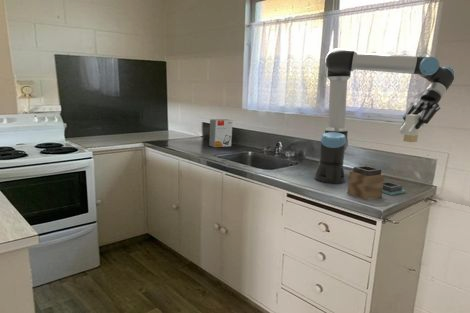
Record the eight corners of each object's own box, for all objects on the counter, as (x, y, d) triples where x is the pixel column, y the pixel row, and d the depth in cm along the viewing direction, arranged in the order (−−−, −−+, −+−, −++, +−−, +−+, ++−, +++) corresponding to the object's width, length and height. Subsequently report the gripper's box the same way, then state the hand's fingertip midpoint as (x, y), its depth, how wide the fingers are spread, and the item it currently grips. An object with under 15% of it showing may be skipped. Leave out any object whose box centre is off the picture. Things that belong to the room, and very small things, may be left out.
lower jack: (371, 188, 159) (372, 182, 159) (385, 186, 164) (386, 180, 164) (390, 195, 151) (391, 188, 150) (404, 192, 156) (405, 186, 155)
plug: (403, 140, 156) (406, 114, 154) (409, 140, 158) (411, 114, 155) (411, 142, 153) (414, 115, 150) (417, 141, 155) (420, 115, 152)
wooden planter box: (347, 192, 152) (350, 166, 149) (362, 190, 157) (365, 165, 154) (365, 199, 143) (369, 172, 141) (381, 196, 148) (385, 170, 146)
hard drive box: (214, 147, 249) (214, 120, 245) (208, 145, 255) (209, 119, 251) (231, 146, 258) (232, 119, 254) (226, 144, 264) (227, 118, 260)
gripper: (454, 101, 151) (426, 141, 147) (418, 99, 166) (392, 135, 162) (449, 89, 148) (420, 129, 144) (412, 88, 162) (386, 125, 158)
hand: (405, 132), depth 153 cm, fingers closed on plug, 4 cm apart
